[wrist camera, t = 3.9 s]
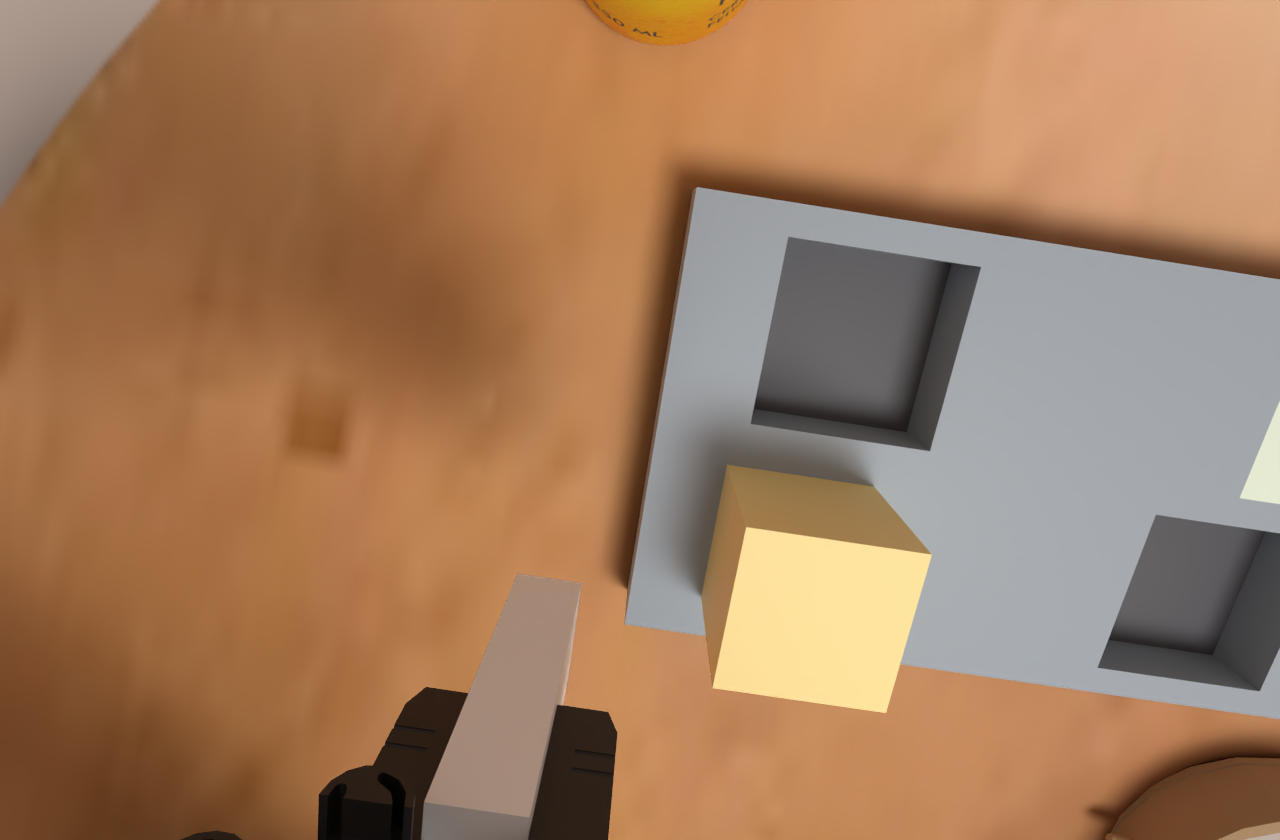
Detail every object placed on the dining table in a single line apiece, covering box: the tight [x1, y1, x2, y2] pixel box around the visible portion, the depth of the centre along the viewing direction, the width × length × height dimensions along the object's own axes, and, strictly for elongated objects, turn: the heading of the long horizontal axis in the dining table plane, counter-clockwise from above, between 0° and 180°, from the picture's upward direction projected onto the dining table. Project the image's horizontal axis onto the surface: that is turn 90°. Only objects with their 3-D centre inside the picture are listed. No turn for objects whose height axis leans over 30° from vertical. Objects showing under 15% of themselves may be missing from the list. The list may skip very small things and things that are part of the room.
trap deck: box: [625, 187, 1280, 719], centre depth 24 cm, size 26×15×2 cm, turn 81°
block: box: [701, 465, 932, 713], centre depth 21 cm, size 5×5×5 cm
